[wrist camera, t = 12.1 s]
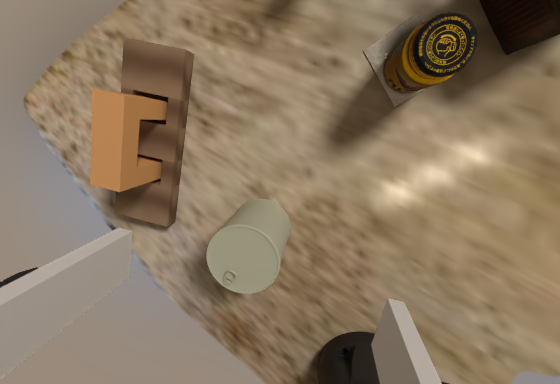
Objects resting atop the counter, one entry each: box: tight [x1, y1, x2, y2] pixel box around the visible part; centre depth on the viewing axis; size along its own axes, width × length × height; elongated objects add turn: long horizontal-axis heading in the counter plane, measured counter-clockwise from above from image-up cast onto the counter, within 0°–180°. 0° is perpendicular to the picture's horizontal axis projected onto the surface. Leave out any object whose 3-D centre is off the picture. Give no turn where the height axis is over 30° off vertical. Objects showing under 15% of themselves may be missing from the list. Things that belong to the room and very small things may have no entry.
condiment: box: [364, 12, 477, 107], centre depth 30 cm, size 7×8×12 cm
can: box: [206, 199, 291, 294], centre depth 38 cm, size 9×9×12 cm
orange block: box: [90, 89, 168, 192], centre depth 38 cm, size 12×4×10 cm, turn 168°
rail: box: [115, 38, 194, 227], centre depth 42 cm, size 26×9×2 cm, turn 168°
